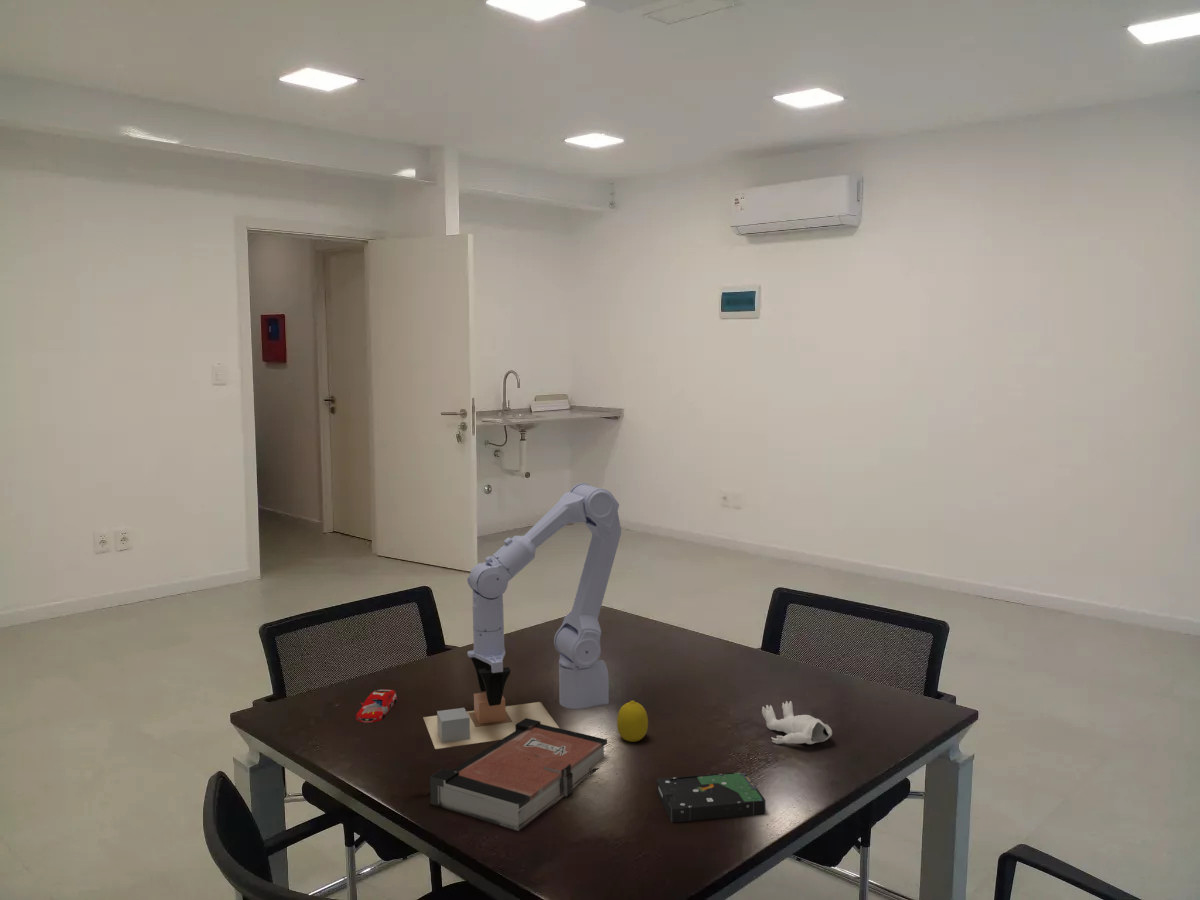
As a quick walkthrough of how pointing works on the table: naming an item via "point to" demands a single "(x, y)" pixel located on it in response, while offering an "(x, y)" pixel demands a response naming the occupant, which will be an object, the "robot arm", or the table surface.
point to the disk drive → (710, 797)
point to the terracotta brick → (488, 709)
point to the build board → (493, 725)
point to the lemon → (632, 721)
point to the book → (518, 775)
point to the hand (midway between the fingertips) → (490, 697)
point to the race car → (376, 706)
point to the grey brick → (453, 725)
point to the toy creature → (796, 726)
